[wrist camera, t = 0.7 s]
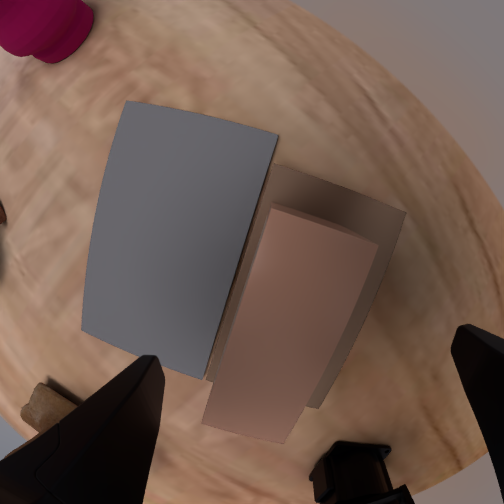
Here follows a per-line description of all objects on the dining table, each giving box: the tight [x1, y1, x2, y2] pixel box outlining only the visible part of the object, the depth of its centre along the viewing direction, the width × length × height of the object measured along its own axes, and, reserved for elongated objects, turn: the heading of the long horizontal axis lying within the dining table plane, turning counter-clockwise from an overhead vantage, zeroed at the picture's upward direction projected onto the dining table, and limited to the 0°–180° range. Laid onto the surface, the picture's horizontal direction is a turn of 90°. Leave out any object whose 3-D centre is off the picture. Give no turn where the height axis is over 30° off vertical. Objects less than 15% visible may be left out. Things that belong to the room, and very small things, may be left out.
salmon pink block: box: [201, 202, 379, 444], centre depth 14 cm, size 4×10×6 cm, turn 163°
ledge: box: [206, 163, 406, 409], centre depth 18 cm, size 8×14×3 cm, turn 163°
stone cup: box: [5, 383, 78, 458], centre depth 17 cm, size 15×12×15 cm
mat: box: [81, 101, 278, 380], centre depth 19 cm, size 11×18×1 cm, turn 163°
